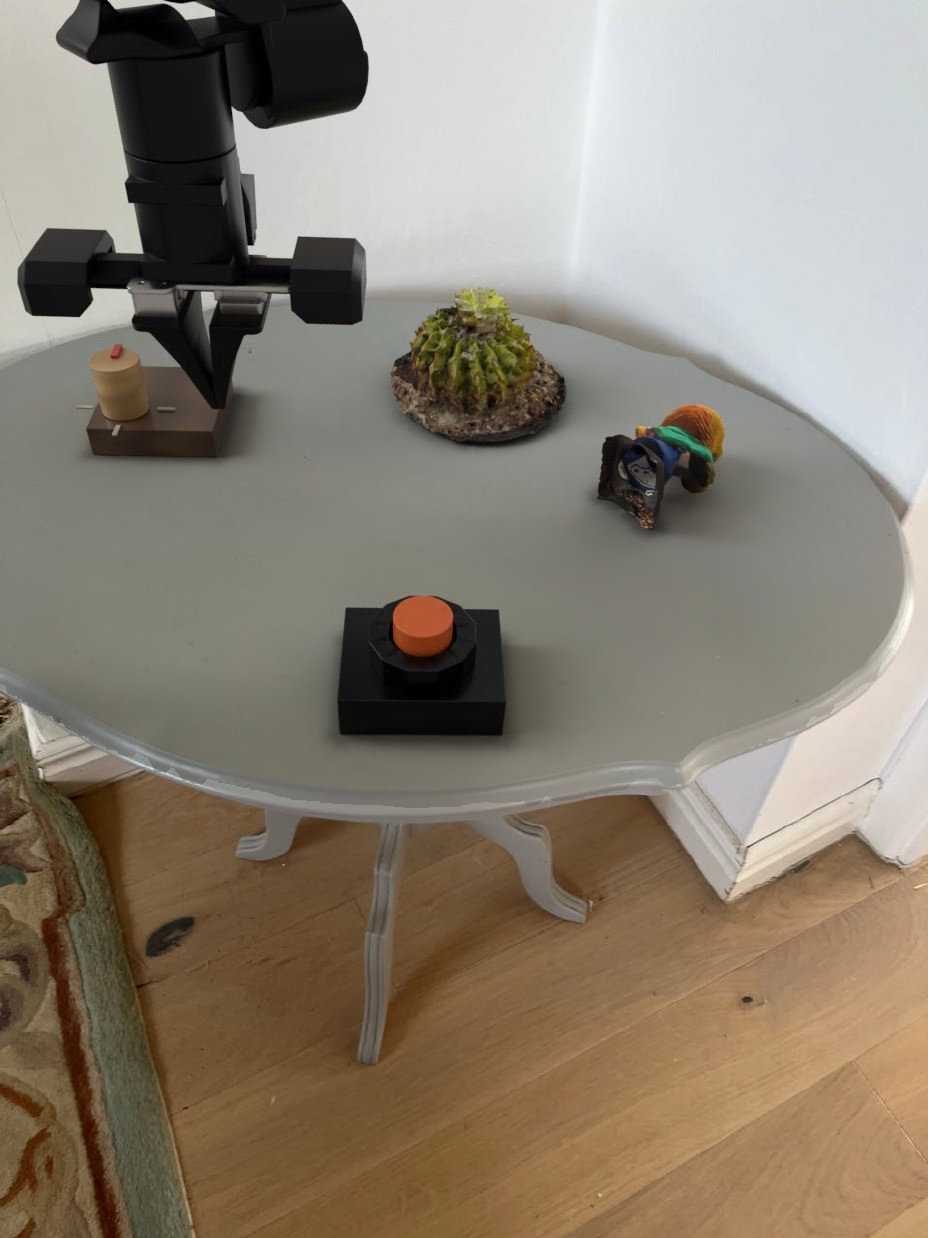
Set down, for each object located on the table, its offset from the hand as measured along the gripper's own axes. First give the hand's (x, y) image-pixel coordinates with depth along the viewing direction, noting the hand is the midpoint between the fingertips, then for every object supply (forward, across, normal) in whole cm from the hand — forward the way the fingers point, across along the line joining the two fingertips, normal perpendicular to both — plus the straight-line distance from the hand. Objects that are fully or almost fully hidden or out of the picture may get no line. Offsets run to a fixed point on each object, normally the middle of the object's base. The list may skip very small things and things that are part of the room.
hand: (219, 405), depth 61 cm
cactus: (+13, -18, -24) cm, 33 cm away
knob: (+10, +11, -16) cm, 22 cm away
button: (+8, -13, +12) cm, 20 cm away
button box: (+13, -13, +12) cm, 22 cm away
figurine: (+13, -32, -10) cm, 36 cm away
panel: (+13, +9, -18) cm, 24 cm away
